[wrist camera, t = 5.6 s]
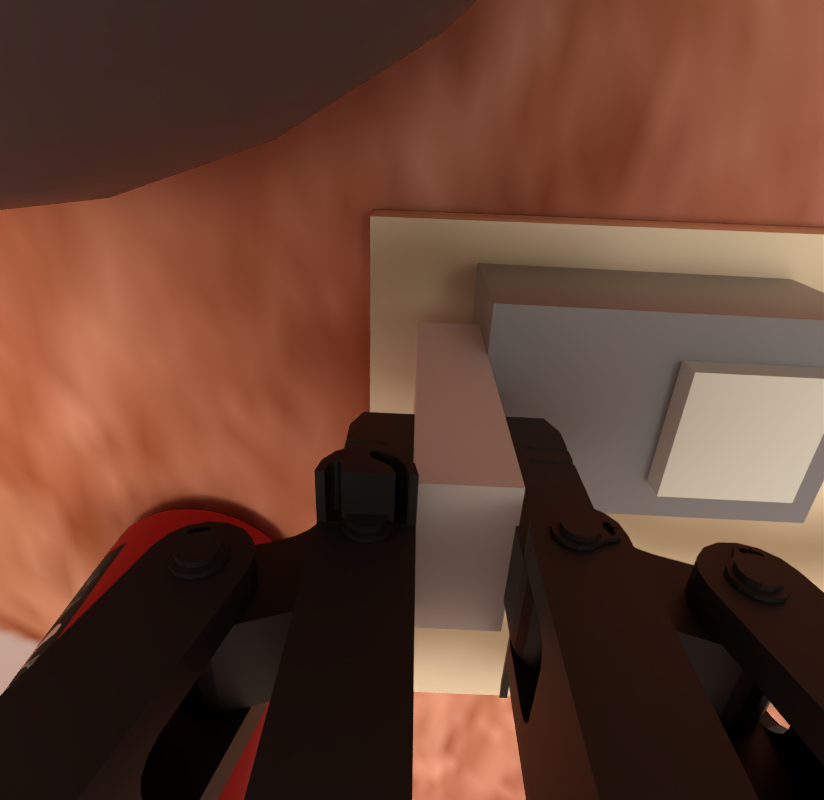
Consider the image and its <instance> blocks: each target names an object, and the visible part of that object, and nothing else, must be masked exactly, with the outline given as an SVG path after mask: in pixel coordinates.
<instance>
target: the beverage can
mask: <svg viewBox="0 0 824 800" xmlns="http://www.w3.org/2000/svg"><path fill="white" fill-rule="evenodd" d="M208 521H213V522H226V523H231V524H233V525H236V526H238V527H241V528H243V529H245V531H246V532H247V533H248V534H249V535H250V536H251V537H252V538H253V540H254V545H257V544H262V543H267V542H273V541H271V540H270V539H269V538H268V537H267V536H266V535H264V534H263V533H262V532H260V531H259V530H257V529H256V528H254V527H252V526H250V525H249V524H247V523H245V522H243V521H240V520H238V519H236V518H233V517H230V516H227V515H224V514H220V513H216V512H212V511H206V510H197V509H178V510H170V511H164V512H160V513H156V514H153V515H151V516H148V517H146V518H144V519H142V520H140V521H138V522H136V523H135V524H133V525H132V526H131V527H129V528H128V529H127V530H126V531H125V532H124V533H123V534H122V535H121V537H120V538H119V539H118V540H117V542H116V543H115V544H114V546H113V547H112V548H111V550H110V551H109V552H108V554H107V555H106V556H105V557H104V559H103V560H102V561H101V563H100V564H99V565H98V567H97V568H96V569H95V571H94V572H93V573H92V575H91V576H90V577H89V578H88V580H87V581H86V582H85V584H84V585H83V586H82V588H81V589H80V590H79V592H78V593H77V594H76V596H75V597H74V598H73V600H72V601H71V602H70V604H69V605H68V606H67V608H66V609H65V610H64V612H63V613H62V614H61V616H60V617H59V618H58V620H57V621H56V622H55V624H54V625H53V626H52V628H51V629H50V630H49V632H48V633H47V634H46V636H45V637H44V638H43V640H42V641H41V642H40V644H39V645H38V646H37V648H36V649H35V651H34V652H33V653H32V654H31V656H30V657H29V659H28V660H27V661H26V663H25V664H24V665H23V667H22V668H21V669H20V671H19V672H18V673H17V675H16V676H15V678H14V679H13V680H12V682H11V683H10V684H9V686H8V687H7V688H6V690H7V689H8V688H9V687H10V686H11V685H12V684H13V683H14V682H15V681H16V680H17V679H18V678H19V677H20V676H21V675H22V674H23V673H24V672H25V671H26V670H27V669H28V668H29V667H30V666H31V665H32V664H33V663H34V662H35V661H36V660H37V659H38V658H39V657H40V656H41V655H42V654H43V653H44V652H45V651H46V650H47V649H48V648H49V647H50V646H51V645H52V644H53V643H54V642H55V641H56V640H57V639H58V638H59V637H60V636H61V635H62V634H63V633H64V632H65V631H66V630H67V629H68V628H69V627H70V626H71V625H72V624H73V623H74V622H75V621H76V620H77V619H78V618H79V617H80V616H81V615H82V614H83V613H84V612H85V611H86V610H87V609H88V608H89V607H90V606H91V605H92V604H93V603H94V602H95V601H96V600H97V599H99V598H100V597H101V596H102V595H103V594H104V593H105V592H106V591H107V590H108V589H109V588H110V587H111V586H112V585H113V584H114V583H115V582H116V581H117V580H118V579H119V578H120V577H121V576H122V575H123V574H124V573H125V572H126V571H127V570H128V569H129V568H130V567H131V566H132V565H133V564H134V563H135V562H136V561H137V560H138V559H139V558H140V557H141V556H142V555H143V554H144V553H145V552H146V551H147V550H148V549H149V548H150V547H151V546H152V545H153V544H155V543H156V542H157V541H159V540H160V539H161V538H163V537H164V536H166V535H167V534H168V533H170V532H173V531H175V530H178V529H180V528H182V527H185V526H187V525H191V524H197V523H203V522H208ZM6 690H5V691H6ZM5 691H4V692H5ZM269 702H270V701H269ZM269 702H268V703H267V707H266V709H265V711H264V713H263V715H262V717H261V719H260V721H259V723H258V724H257V726H256V728H255V730H254V732H253V734H252V736H251V738H250V740H249V742H248V743H247V745H246V747H245V749H244V751H243V753H242V755H241V757H240V759H239V760H238V762H237V764H236V766H235V768H234V770H233V772H232V774H231V776H230V778H229V779H228V781H227V783H226V785H225V787H224V789H223V791H222V793H221V795H220V797H219V798H218V800H244V797H245V794H246V790H247V786H248V782H249V778H250V775H251V771H252V767H253V763H254V759H255V756H256V752H257V748H258V744H259V740H260V737H261V733H262V729H263V725H264V721H265V718H266V714H267V710H268V706H269Z"/></svg>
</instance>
